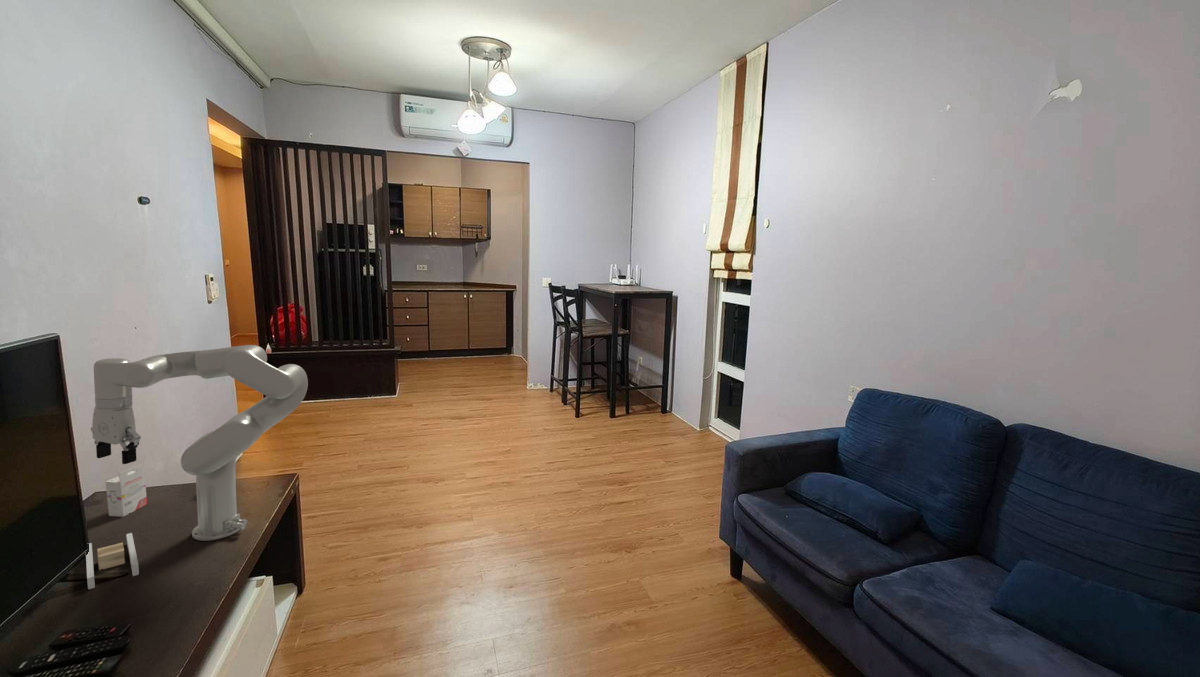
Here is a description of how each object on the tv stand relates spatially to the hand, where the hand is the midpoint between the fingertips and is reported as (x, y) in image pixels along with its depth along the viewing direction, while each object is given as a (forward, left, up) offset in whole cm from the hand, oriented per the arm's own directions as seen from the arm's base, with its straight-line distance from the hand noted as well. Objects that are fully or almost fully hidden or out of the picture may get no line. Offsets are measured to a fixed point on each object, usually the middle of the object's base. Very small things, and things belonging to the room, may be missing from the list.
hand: (116, 459), depth 142 cm
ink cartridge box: (+14, -15, -25) cm, 32 cm away
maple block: (-8, +11, -25) cm, 28 cm away
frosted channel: (-9, +11, -25) cm, 29 cm away
